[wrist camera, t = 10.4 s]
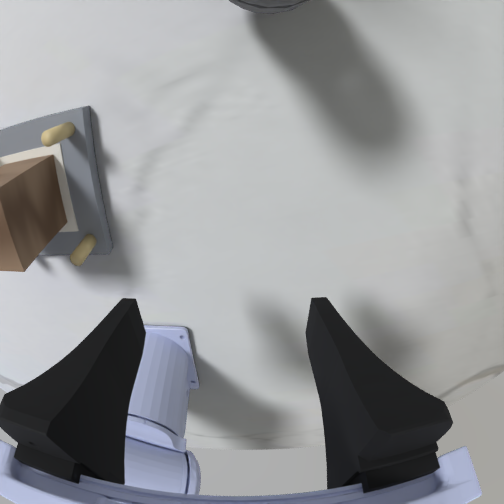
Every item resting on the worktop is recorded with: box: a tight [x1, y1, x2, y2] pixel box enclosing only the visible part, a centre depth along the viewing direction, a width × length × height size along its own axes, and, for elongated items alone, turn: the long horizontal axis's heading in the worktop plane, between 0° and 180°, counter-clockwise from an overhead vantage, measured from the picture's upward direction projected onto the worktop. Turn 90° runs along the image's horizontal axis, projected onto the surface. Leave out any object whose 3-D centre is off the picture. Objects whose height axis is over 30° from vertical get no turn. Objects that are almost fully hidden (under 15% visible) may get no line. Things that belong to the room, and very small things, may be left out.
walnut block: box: [0, 154, 67, 272], centre depth 15 cm, size 5×5×6 cm
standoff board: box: [0, 106, 113, 266], centre depth 17 cm, size 10×10×4 cm
